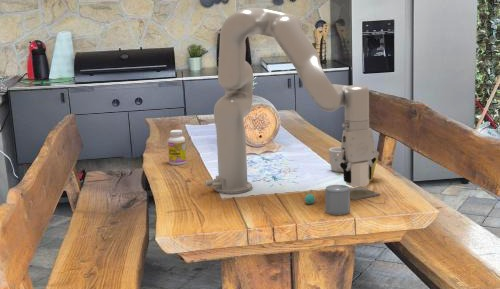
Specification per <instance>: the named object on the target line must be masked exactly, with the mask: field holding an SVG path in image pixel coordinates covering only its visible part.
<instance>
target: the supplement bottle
mask: <svg viewBox="0 0 500 289" xmlns="http://www.w3.org/2000/svg"><path fill="white" fill-rule="evenodd" d="M169 134H170V137H169V138H168V139H167V143H168V145H167V146H168V147H167V148H168V162H169V164H170V165H173V166H181V165H185V164H186V163H187V147H186V138H185V137H184V136H183V130H182V129H172V130H170V132H169Z"/></svg>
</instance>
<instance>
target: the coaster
mask: <svg viewBox="0 0 500 289" xmlns="http://www.w3.org/2000/svg"><path fill="white" fill-rule="evenodd" d="M349 189H350V201H357V200H361V199H362V200H363V199H367V198H374V197H378V196H380V193H378V192H375V191H373V190H371V189H369V188H366V187H364V186H355V187H351V188H349Z"/></svg>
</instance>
